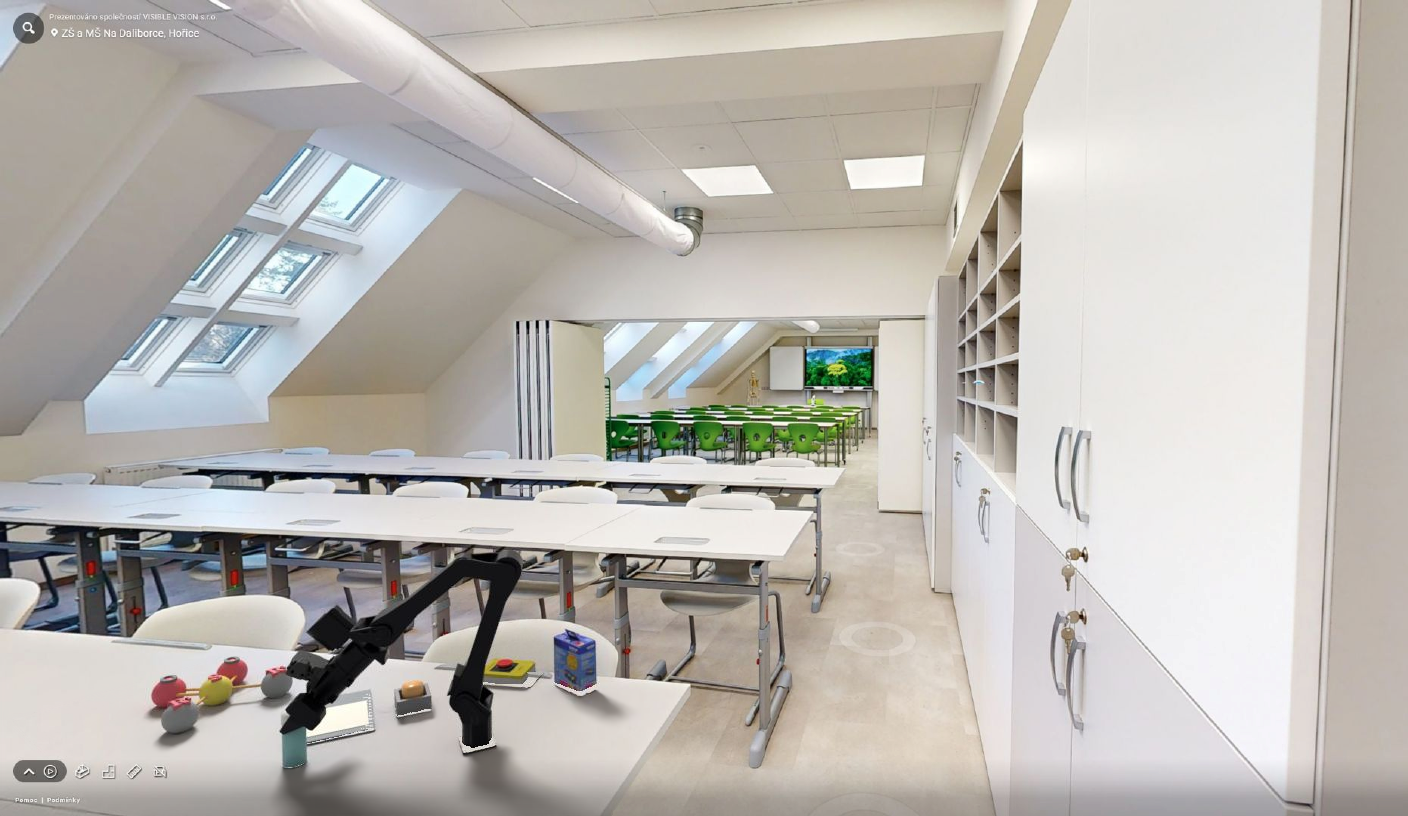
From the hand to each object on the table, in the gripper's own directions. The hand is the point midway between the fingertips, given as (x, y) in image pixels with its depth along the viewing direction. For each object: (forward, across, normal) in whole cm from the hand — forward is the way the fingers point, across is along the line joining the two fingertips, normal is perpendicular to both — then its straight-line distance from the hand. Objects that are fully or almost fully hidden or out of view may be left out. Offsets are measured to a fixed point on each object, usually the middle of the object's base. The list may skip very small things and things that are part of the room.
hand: (286, 726), depth 130 cm
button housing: (-8, -18, +18) cm, 27 cm away
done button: (-10, -19, +17) cm, 27 cm away
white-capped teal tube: (+4, 0, +6) cm, 7 cm away
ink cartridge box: (-33, -21, +44) cm, 59 cm away
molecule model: (+23, -30, -12) cm, 40 cm away
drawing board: (+3, -17, +7) cm, 19 cm away
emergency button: (-22, -30, +33) cm, 50 cm away
